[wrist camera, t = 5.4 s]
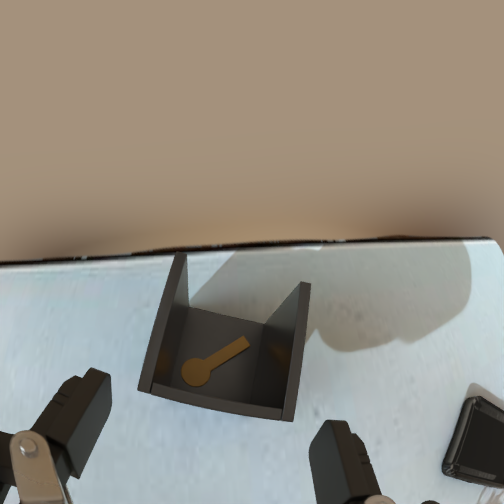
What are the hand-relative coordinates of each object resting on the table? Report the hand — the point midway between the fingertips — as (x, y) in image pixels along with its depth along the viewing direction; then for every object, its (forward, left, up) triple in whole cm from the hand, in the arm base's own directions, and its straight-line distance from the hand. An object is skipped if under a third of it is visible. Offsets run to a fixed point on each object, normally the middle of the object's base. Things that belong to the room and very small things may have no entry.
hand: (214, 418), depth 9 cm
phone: (+28, +3, -8) cm, 30 cm away
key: (-1, +3, -8) cm, 8 cm away
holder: (-1, +3, -8) cm, 9 cm away
